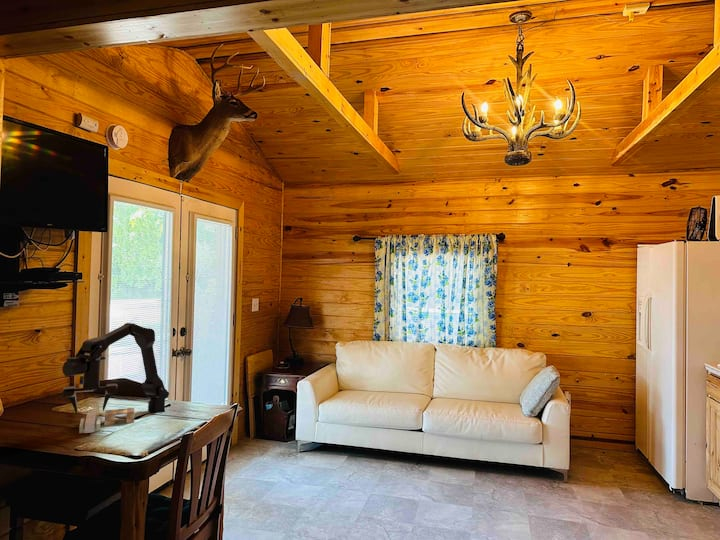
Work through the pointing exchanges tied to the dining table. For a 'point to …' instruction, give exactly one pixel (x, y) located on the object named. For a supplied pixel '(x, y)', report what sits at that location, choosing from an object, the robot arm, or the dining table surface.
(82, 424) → the cradle
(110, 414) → the tan u-shaped block
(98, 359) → the robot arm
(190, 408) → the dining table surface
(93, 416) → the pinkish brown square bar
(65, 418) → the dining table surface
